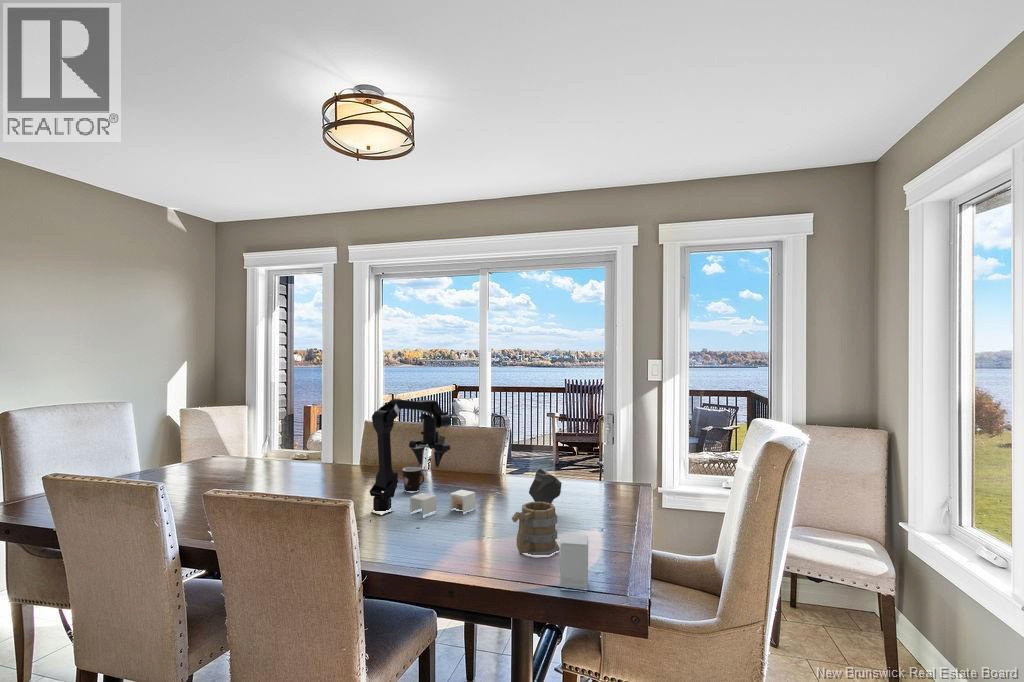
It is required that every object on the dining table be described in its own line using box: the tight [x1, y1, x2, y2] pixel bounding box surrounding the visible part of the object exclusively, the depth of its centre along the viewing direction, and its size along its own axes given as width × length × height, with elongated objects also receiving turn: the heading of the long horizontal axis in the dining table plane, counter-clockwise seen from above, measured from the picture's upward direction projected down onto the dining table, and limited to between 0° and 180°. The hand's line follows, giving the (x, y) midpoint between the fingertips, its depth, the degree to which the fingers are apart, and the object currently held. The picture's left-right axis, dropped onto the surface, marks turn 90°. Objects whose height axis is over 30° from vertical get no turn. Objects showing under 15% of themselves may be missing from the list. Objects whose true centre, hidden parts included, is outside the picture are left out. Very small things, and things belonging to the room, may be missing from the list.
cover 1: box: [409, 492, 437, 516], centre depth 202 cm, size 7×7×7 cm
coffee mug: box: [402, 466, 425, 491], centre depth 233 cm, size 12×9×10 cm
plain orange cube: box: [456, 499, 463, 510], centre depth 207 cm, size 4×4×4 cm
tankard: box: [511, 501, 561, 555], centre depth 164 cm, size 20×13×15 cm, turn 141°
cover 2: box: [449, 489, 476, 512], centre depth 207 cm, size 7×7×7 cm
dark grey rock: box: [528, 467, 563, 504], centre depth 202 cm, size 14×15×18 cm
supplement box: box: [559, 533, 589, 590], centre depth 141 cm, size 7×7×13 cm
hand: (428, 465), depth 224 cm, fingers open, 9 cm apart
